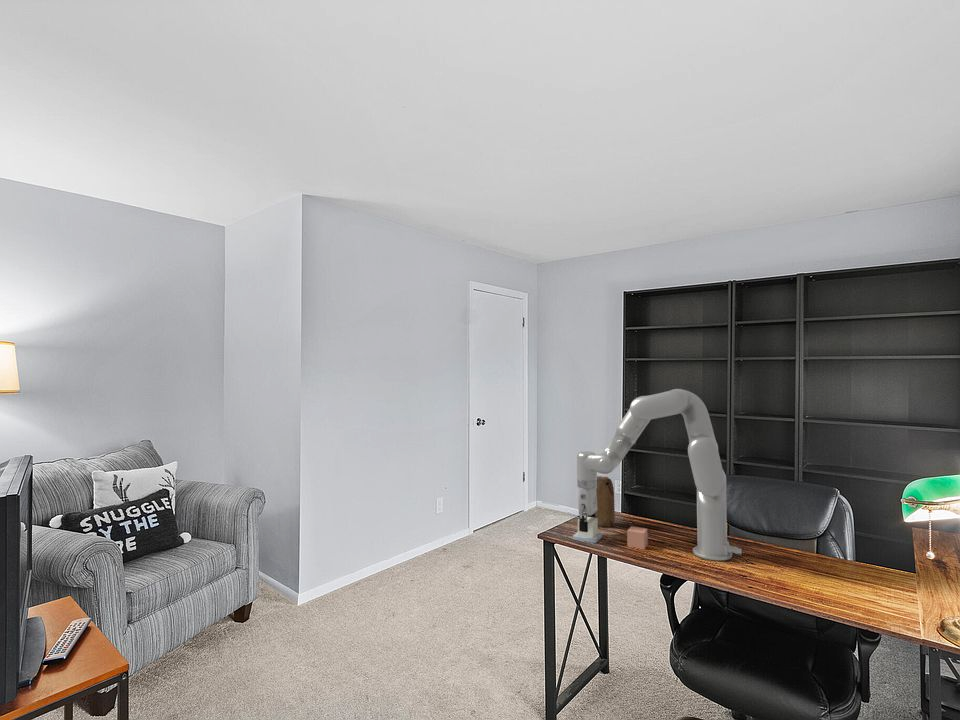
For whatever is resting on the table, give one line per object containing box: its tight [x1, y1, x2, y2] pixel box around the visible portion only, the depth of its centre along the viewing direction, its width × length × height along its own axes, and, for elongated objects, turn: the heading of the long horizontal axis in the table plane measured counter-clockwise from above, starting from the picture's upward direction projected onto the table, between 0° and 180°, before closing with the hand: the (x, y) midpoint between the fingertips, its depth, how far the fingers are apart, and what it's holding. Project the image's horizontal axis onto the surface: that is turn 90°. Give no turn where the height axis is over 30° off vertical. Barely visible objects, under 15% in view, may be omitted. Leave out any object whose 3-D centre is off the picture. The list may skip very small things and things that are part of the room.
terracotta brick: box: [626, 526, 649, 550], centre depth 191 cm, size 6×6×6 cm
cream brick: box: [577, 516, 599, 538], centre depth 200 cm, size 6×6×6 cm
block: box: [595, 475, 616, 528], centre depth 217 cm, size 11×8×20 cm
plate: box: [572, 531, 603, 544], centre depth 200 cm, size 9×9×1 cm
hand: (587, 528), depth 200 cm, fingers open, 9 cm apart
